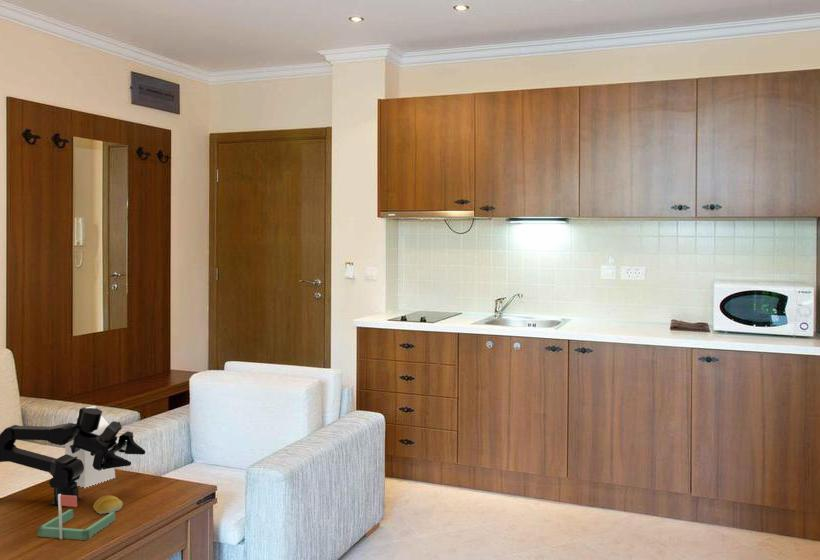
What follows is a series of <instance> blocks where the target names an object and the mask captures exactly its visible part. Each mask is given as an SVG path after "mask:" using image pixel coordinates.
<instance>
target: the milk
mask: <svg viewBox="0 0 820 560" xmlns="http://www.w3.org/2000/svg"><path fill="white" fill-rule="evenodd" d="M86 408H94V409H95V408H97V409H98V407H97V406H96V405H93V406H92V405H91V406H87V407H86ZM80 409H81V408H79V409H78V411H77V414H76V418H75V419H74V420H73V421H72V422H71V423H73V424H76V423H77V420H78V416H79V410H80ZM108 425H110V423H109V422H108V421H107V420H105V418H104V416H102V415H101V419H100V422H99V426H98V429H97V430H94V432H91V433H94V434H97V435H101V434H102V433H103V432H104V430H105V429H106V427H107V426H108ZM73 441H74V440H73ZM73 441H71V442H69V443H67V444H65V448H64V449H65V450H64V451H65V453H64V455H65V454H67V455H70V456H72V457H77V459H79V460H81V461H82V463H83V465H84V471H83V473H82V474H81V475H80V478H79V479H78V480H76V481H75V482H77V487H78V486H80V487H79V488H82V487H84V488H83V489H87V488H86V487H88V488H90V487H89V486H91V487H93V486H92V485H94V486H96V485H99V484H102V483H104V481H105V482H108V481H111V480H113V478H114V479H116V470H115V468H116V467H115V468H109V469H105V470H103V469H102V470H100V471H99V470H96V469H94V467H93V466H92V465H93V460H94V456H95V455H94V456H92V455H90V454H91V452H88V451H85V450H82V449H80V450H79V451H77V452H75V453H72V451H71V448H70V446H71V445H73ZM110 479H111V480H110ZM107 480H108V481H107ZM101 482H102V483H101ZM98 483H99V484H98ZM95 484H96V485H95Z"/></svg>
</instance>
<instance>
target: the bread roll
mask: <svg viewBox="0 0 820 560" xmlns="http://www.w3.org/2000/svg"><path fill="white" fill-rule="evenodd" d="M123 506H124V505H123V501H122V500H121V499H119V498H118V497H117V496H115V495H113V494H112V495H110V494H108V495H103V496H101V497H99V498H97V500H96V501H95V502H94V503H93V510H94V511H95V512H96V513H97V514H98V513H99V515H106V513H111V512H115V513H116V511H117V512H118V511H120V510H122V509H123Z"/></svg>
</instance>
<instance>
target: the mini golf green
mask: <svg viewBox="0 0 820 560" xmlns="http://www.w3.org/2000/svg"><path fill="white" fill-rule="evenodd" d="M57 507H58V515H57V516H56V517H54V518H53V519H51V520H48V522H45V523H44V524H42V525H39V527H37V536H38V537H39V538H40V537H41V538H54V539H55V538H56V539H59V540H63V539H64V540H65V539H67V540H68V539H69V540H81V541H82V540H83V541H87V540H89V539H90V538H92V537H93V536H95V535H96V534H98V533H100V532H101V531H102V530H103V528H104V529H105V528H107V527H108V526H109V525H111V524H112V523H114V522H115V521H116V512H111V513H109V514H107V515H106V514H105V516H103V517H102V518H100V519H99V520H98V521H96V522H94V523H93V524H91V525H90V526H88V527H87V528H85V529H81V528H71V527H70V528H67V527H63V525H64V524H65V523H67V522H68V521H70V520H72V519H74V509H72V508H70V509H67V510H66V511H64V512H62V511H63V510H62V507H75V508H76V507H78V501H77V496H69V495H61V494H58V505H57ZM113 521H114V522H113ZM110 523H111V524H110ZM100 530H101V531H100ZM97 532H98V533H97ZM94 534H95V535H94Z"/></svg>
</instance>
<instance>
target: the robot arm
mask: <svg viewBox="0 0 820 560" xmlns="http://www.w3.org/2000/svg"><path fill="white" fill-rule="evenodd" d="M79 409H80V410H79ZM79 409H78V411H79V416H78V420H77V423H76V424H73V423H72V422H69V423H68V422H65V423H61V424H58V425H53V426H42V425H40V426H38V425H34V426H33V425H19V424H18V425H17V424H14V425H11V426H8V427H6V428H5V429H3V431H1V433H0V463H7V462H10V463H12V464H13V463H14V464H16V465H21V466H24V467H27V468H32V469H35V470H38V471H42V472H46V473H48V474H49V475H51V479H50V480H49V481H48V483H49V485H50V488H53V501H52V502H50V505H52V506H58V494H61V495H69V496H77V502H78V501H79V500H81V496H79V495H80V494H79V487H78V486H77V482H75V481H76V480H78V479H79V478H80V475H81V474H82V473H83V471H84V465H83V463H82V461H81V460H79V459H77V457H72V456H70V455H67V454H65V453H64V454H63V455H61V456H59V457H58V458H56V457H52V456H49V455H45V454H42V453H39V452H34V451H30V450H27V449H23V448H19V447H17V446H16V445H15V443H16V441H18V440H22V441H25V440H26V441H46V442H48V443H50V444H53V445H58V446H64V445H66V444H67V443H69V442H71V441H73V440H74V441H73V445H71V446H70V448H71V451H72V453H75V452H77V451H79V450H80V449H82V450H85V451H88V452H91V454H90V455H92V456H94V455H95V456H94V460H93V465H92V466H93V467H94V469H96V470H99V471H100V470H102V469H103V470H105V469H109V468H121V467H129V466H131V464H132V461H129V460H128V459H126V458H123V457H121V456H119V455H117V454H116V453H117V452H119V453H121V454H123V453H124V455H145V454H146V450H145V449H144V448H142V447H141V446H140V445H139V444H137V443H136V442H135V440H134V432H132V431H129V430H127V431H125V432H124V433H122V434H121V435H119V436H117V435H118V433H119V432H120V431H121V430H122V428H123V427H122V424H121V422H120V421H114V420H113V421H111V422H110V423H109V425H108V426H107V427H106V429H105V430H104V432H103V433H102V434H101V435H97V434H94V433H91V432H94V430H97V429H98V426H99V422H100V419H101V416H102V414H103V411H102V410H101V409H100V408H98V407H97V408H95V409H94V408H87V407H81V408H79ZM117 440H118V442H117Z"/></svg>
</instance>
